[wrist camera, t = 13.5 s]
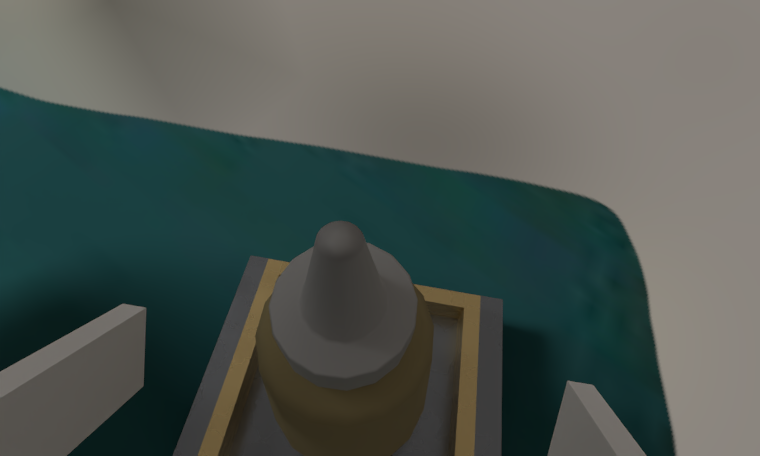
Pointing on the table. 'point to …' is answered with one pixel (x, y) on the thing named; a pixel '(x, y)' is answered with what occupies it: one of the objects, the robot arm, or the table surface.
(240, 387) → the square gold-rimmed tray
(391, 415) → the squeeze bottle
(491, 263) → the table surface
